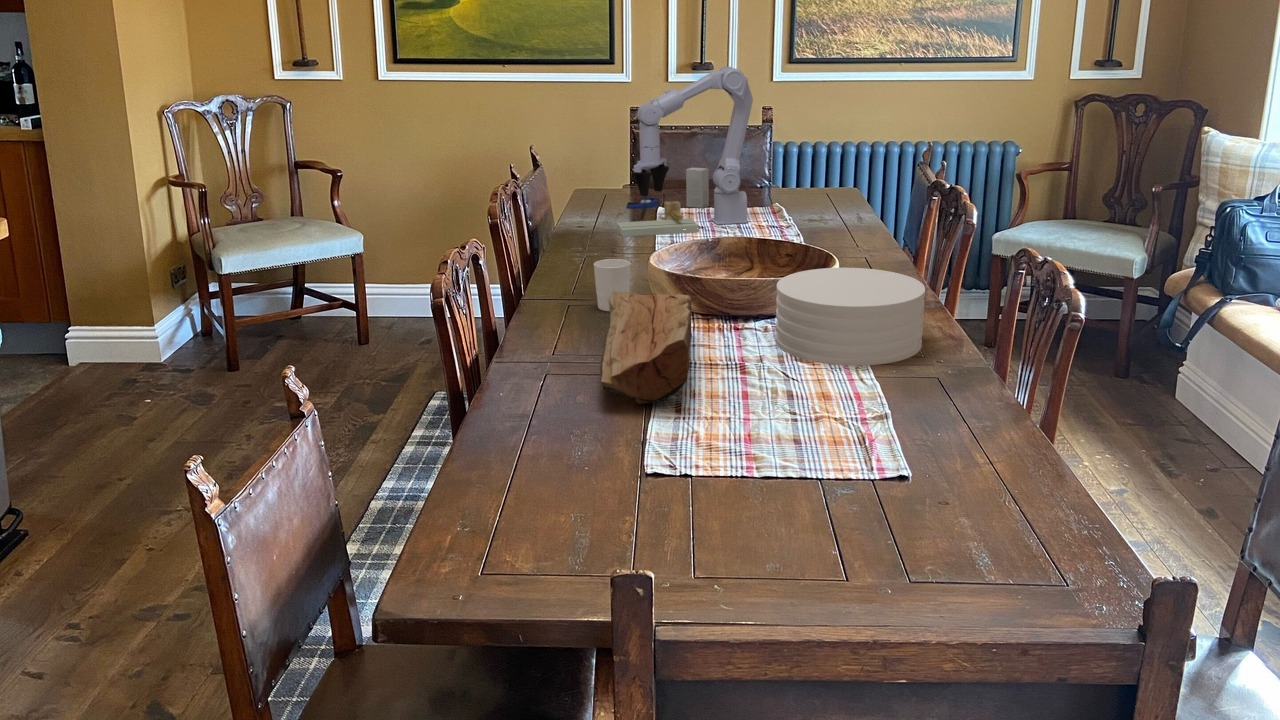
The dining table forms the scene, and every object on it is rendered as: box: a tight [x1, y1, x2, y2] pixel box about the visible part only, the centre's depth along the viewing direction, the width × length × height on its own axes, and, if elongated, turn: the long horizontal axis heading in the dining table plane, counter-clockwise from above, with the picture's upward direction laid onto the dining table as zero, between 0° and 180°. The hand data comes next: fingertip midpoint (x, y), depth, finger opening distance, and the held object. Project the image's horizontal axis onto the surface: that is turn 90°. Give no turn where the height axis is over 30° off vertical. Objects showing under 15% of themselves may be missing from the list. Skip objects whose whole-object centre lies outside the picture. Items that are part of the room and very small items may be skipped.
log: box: [599, 291, 693, 405], centre depth 196 cm, size 42×18×15 cm, turn 176°
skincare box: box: [685, 167, 710, 209], centre depth 339 cm, size 6×4×12 cm
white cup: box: [593, 258, 631, 312], centre depth 235 cm, size 8×8×10 cm
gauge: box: [663, 200, 684, 220], centre depth 311 cm, size 4×12×6 cm, turn 10°
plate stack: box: [775, 267, 926, 367], centre depth 208 cm, size 28×28×12 cm
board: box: [616, 218, 700, 238], centre depth 308 cm, size 22×10×2 cm, turn 100°
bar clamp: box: [626, 196, 660, 221], centre depth 334 cm, size 32×2×10 cm
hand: (651, 193), depth 312 cm, fingers open, 7 cm apart
